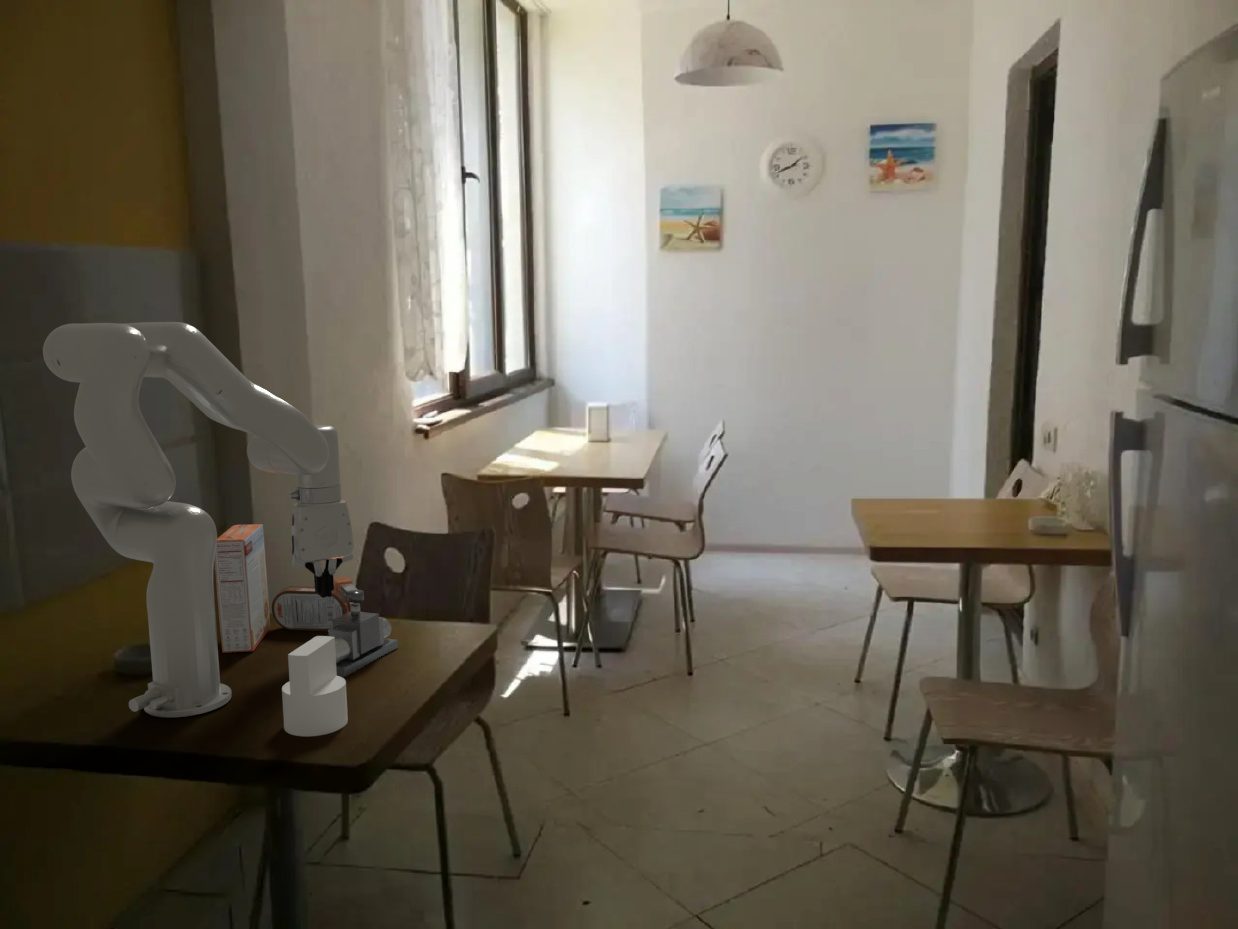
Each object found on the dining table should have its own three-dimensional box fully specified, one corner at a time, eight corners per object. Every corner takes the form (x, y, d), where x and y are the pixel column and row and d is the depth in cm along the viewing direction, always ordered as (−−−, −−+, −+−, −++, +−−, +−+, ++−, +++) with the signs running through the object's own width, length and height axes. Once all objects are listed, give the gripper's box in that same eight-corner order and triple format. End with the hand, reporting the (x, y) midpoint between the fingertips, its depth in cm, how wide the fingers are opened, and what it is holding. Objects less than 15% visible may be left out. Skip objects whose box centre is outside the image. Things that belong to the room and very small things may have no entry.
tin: (352, 628, 195) (350, 585, 194) (346, 633, 192) (344, 590, 191) (277, 626, 197) (275, 584, 196) (270, 631, 194) (268, 588, 193)
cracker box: (239, 630, 194) (232, 524, 191) (271, 629, 195) (265, 523, 192) (218, 654, 181) (211, 539, 178) (253, 652, 181) (246, 538, 178)
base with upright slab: (330, 738, 144) (326, 657, 142) (272, 734, 145) (267, 654, 144) (358, 714, 153) (354, 637, 151) (302, 710, 154) (298, 634, 152)
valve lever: (365, 602, 175) (365, 591, 174) (348, 604, 173) (347, 594, 173) (348, 585, 186) (348, 576, 185) (332, 587, 184) (331, 578, 184)
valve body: (344, 677, 168) (341, 618, 167) (314, 672, 171) (311, 615, 169) (398, 647, 183) (395, 594, 182) (369, 644, 185) (367, 591, 184)
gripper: (281, 503, 172) (288, 607, 174) (367, 493, 180) (372, 593, 182) (270, 496, 178) (276, 597, 181) (353, 488, 186) (358, 584, 189)
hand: (324, 595), depth 182 cm, fingers closed
